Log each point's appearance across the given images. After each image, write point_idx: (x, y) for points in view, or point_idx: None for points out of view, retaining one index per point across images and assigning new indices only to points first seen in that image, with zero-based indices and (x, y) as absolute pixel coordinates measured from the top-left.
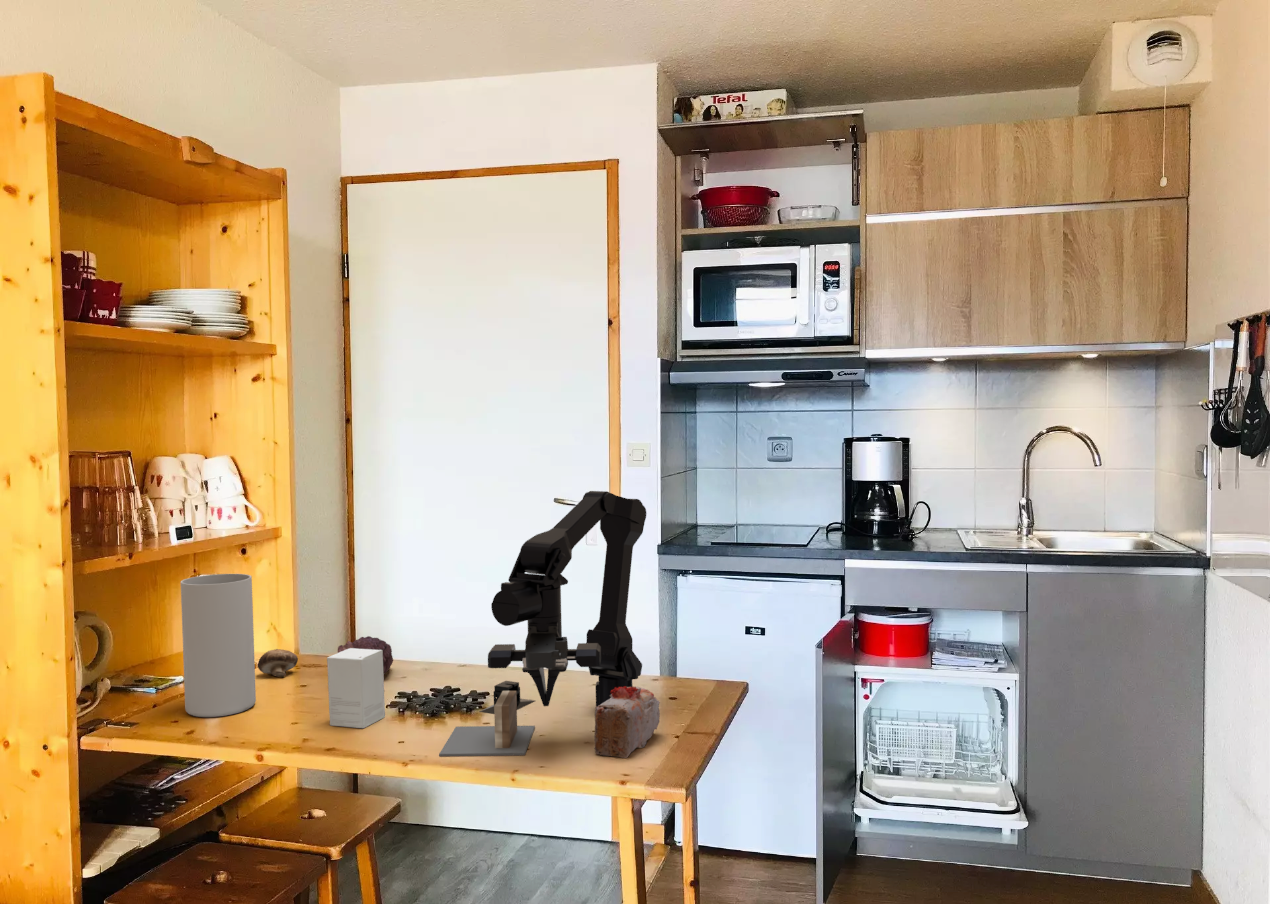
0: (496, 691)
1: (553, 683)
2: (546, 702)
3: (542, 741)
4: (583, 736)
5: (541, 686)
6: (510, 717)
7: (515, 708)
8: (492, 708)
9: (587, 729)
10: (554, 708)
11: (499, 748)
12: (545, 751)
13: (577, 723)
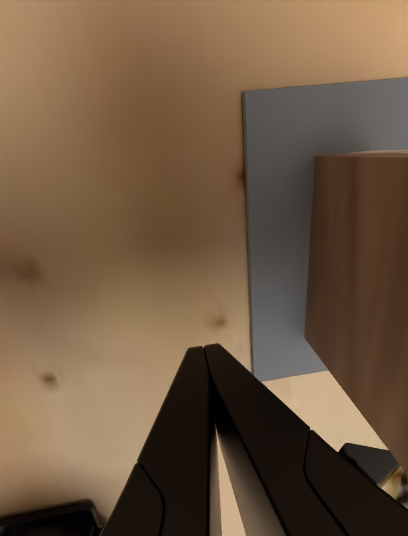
0: None
1: (115, 529)
2: (201, 356)
3: (203, 265)
4: (67, 328)
5: (274, 458)
6: (390, 220)
7: (359, 373)
8: (379, 473)
9: (78, 389)
10: (224, 504)
11: (353, 145)
12: (165, 152)
13: (129, 427)
